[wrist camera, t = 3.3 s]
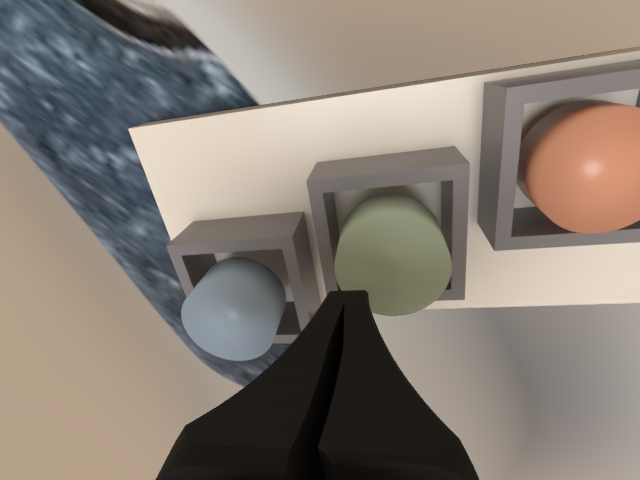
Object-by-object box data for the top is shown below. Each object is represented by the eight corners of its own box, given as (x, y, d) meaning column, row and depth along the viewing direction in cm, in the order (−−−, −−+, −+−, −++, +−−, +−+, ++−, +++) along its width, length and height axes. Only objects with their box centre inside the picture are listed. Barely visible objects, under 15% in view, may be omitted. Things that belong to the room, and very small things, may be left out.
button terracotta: (624, 204, 15) (665, 228, 13) (509, 212, 15) (531, 237, 13) (652, 91, 13) (707, 98, 11) (520, 108, 14) (546, 118, 11)
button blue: (293, 326, 19) (283, 360, 16) (217, 328, 19) (198, 360, 17) (276, 254, 17) (262, 283, 15) (192, 259, 18) (167, 287, 15)
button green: (441, 280, 16) (451, 314, 14) (346, 284, 17) (341, 317, 15) (441, 189, 14) (452, 212, 12) (333, 199, 15) (326, 222, 13)
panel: (618, 280, 20) (685, 343, 16) (212, 297, 25) (178, 348, 20) (683, 39, 15) (811, 33, 10) (150, 122, 19) (86, 140, 15)
